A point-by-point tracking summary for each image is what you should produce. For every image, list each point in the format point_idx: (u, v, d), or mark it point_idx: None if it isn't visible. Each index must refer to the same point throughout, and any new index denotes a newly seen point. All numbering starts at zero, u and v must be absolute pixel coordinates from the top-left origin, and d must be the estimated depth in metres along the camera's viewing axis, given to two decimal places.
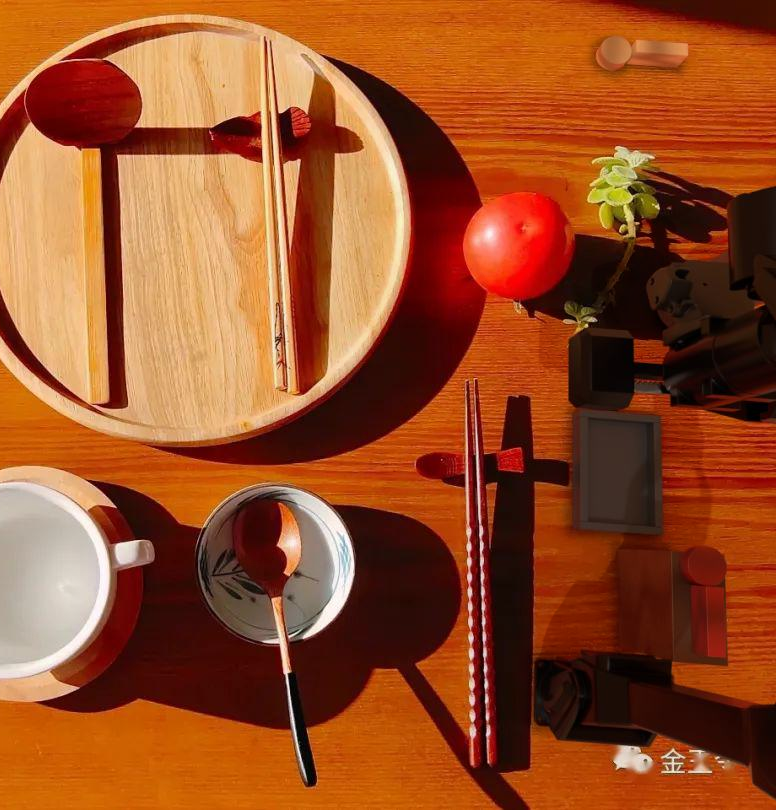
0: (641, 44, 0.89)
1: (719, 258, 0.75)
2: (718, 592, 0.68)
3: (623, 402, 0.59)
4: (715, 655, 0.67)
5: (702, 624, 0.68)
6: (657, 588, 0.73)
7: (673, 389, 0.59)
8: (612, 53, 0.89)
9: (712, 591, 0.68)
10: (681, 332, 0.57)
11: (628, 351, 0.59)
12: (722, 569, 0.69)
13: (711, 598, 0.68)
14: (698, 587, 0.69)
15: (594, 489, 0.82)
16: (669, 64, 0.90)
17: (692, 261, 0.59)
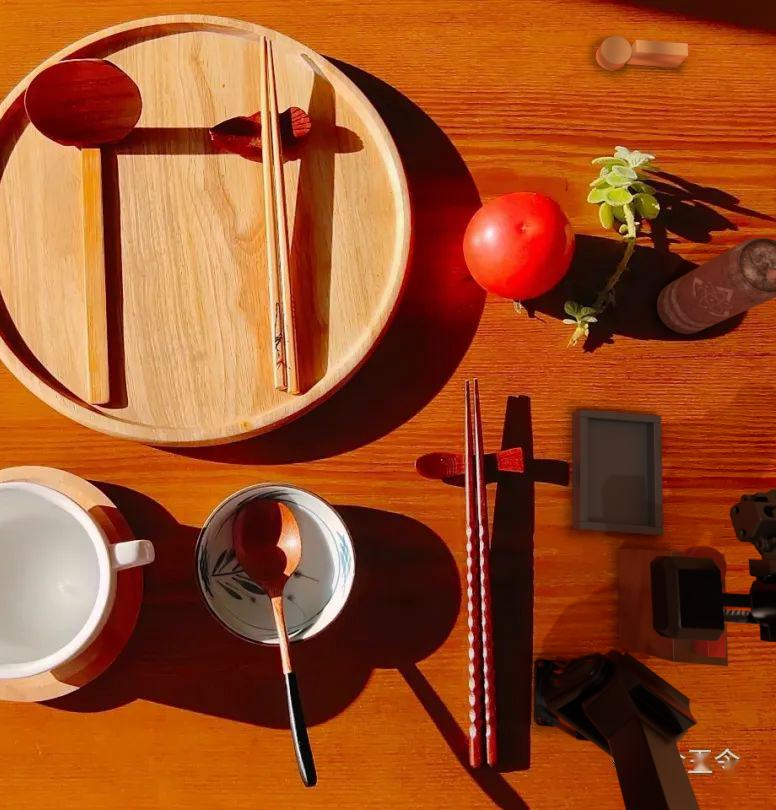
0: (641, 44, 0.89)
1: (719, 258, 0.75)
2: None
3: (712, 637, 0.58)
4: (715, 655, 0.67)
5: None
6: None
7: (763, 623, 0.57)
8: (612, 53, 0.89)
9: None
10: (772, 570, 0.56)
11: (716, 584, 0.58)
12: (722, 569, 0.69)
13: None
14: None
15: (594, 489, 0.82)
16: (669, 64, 0.90)
17: None
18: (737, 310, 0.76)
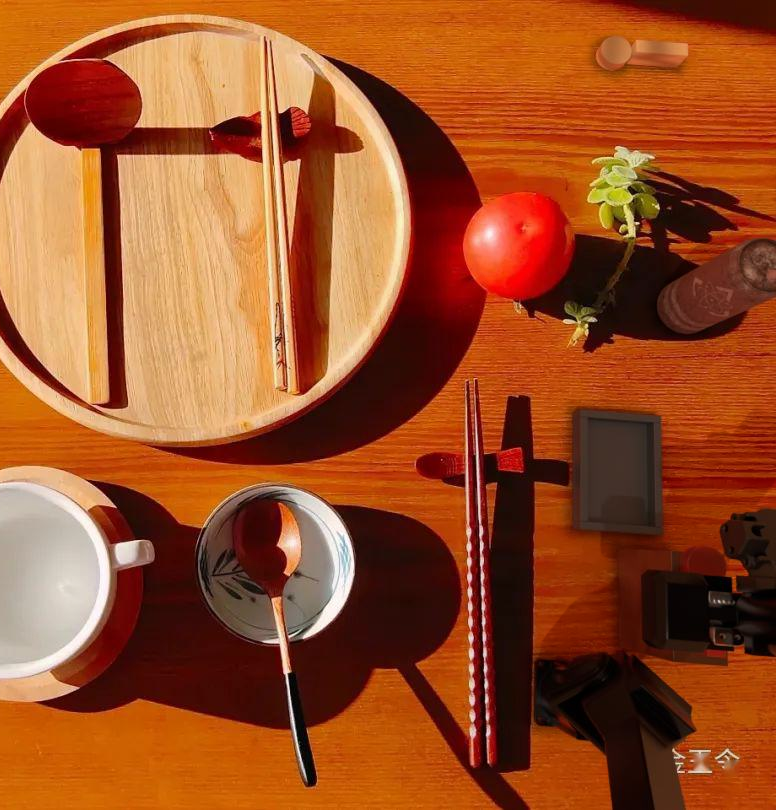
0: (641, 44, 0.89)
1: (719, 258, 0.75)
2: None
3: (698, 649, 0.60)
4: (715, 655, 0.67)
5: None
6: None
7: (748, 637, 0.60)
8: (612, 53, 0.89)
9: None
10: (757, 587, 0.59)
11: (703, 598, 0.60)
12: (722, 569, 0.69)
13: None
14: None
15: (594, 489, 0.82)
16: (669, 64, 0.90)
17: (766, 510, 0.60)
18: (737, 310, 0.76)
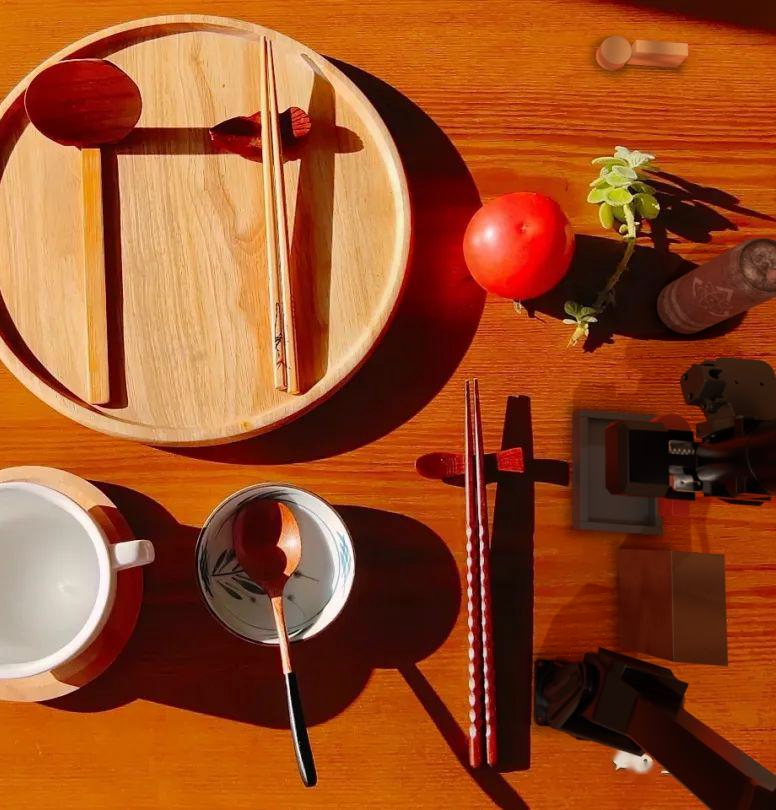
0: (641, 44, 0.89)
1: (719, 258, 0.75)
2: None
3: (658, 492, 0.62)
4: (679, 514, 0.69)
5: None
6: (657, 588, 0.73)
7: (706, 480, 0.62)
8: (612, 53, 0.89)
9: None
10: (714, 428, 0.61)
11: (663, 444, 0.62)
12: None
13: None
14: None
15: (594, 489, 0.82)
16: (669, 64, 0.90)
17: (724, 358, 0.62)
18: (737, 310, 0.76)
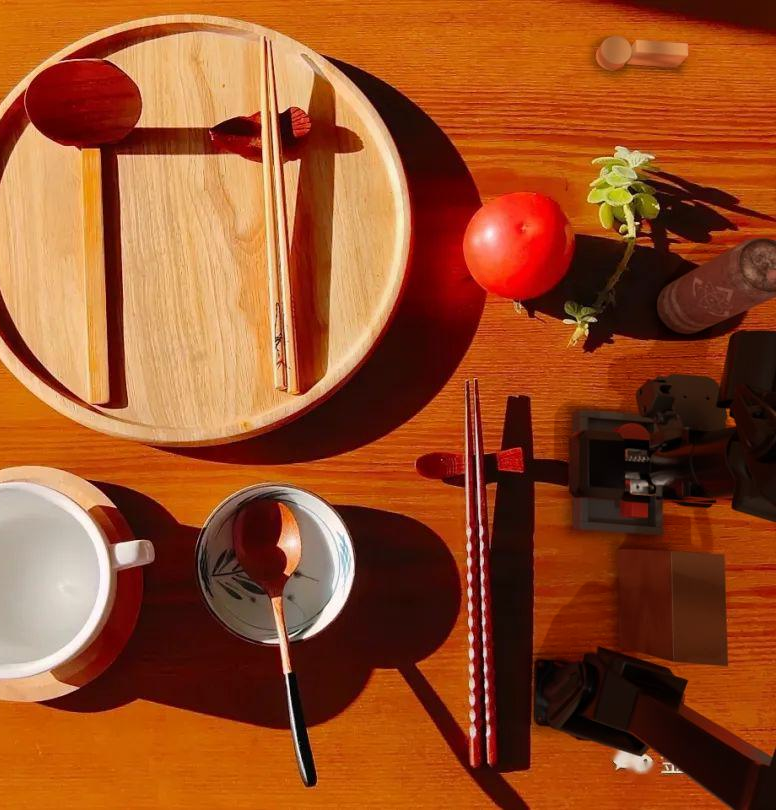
0: (641, 44, 0.89)
1: (719, 258, 0.75)
2: None
3: (616, 496, 0.69)
4: (638, 515, 0.76)
5: None
6: (657, 588, 0.73)
7: (658, 485, 0.69)
8: (612, 53, 0.89)
9: None
10: (665, 438, 0.68)
11: (620, 452, 0.69)
12: None
13: None
14: None
15: None
16: (669, 64, 0.90)
17: (674, 375, 0.69)
18: (737, 310, 0.76)
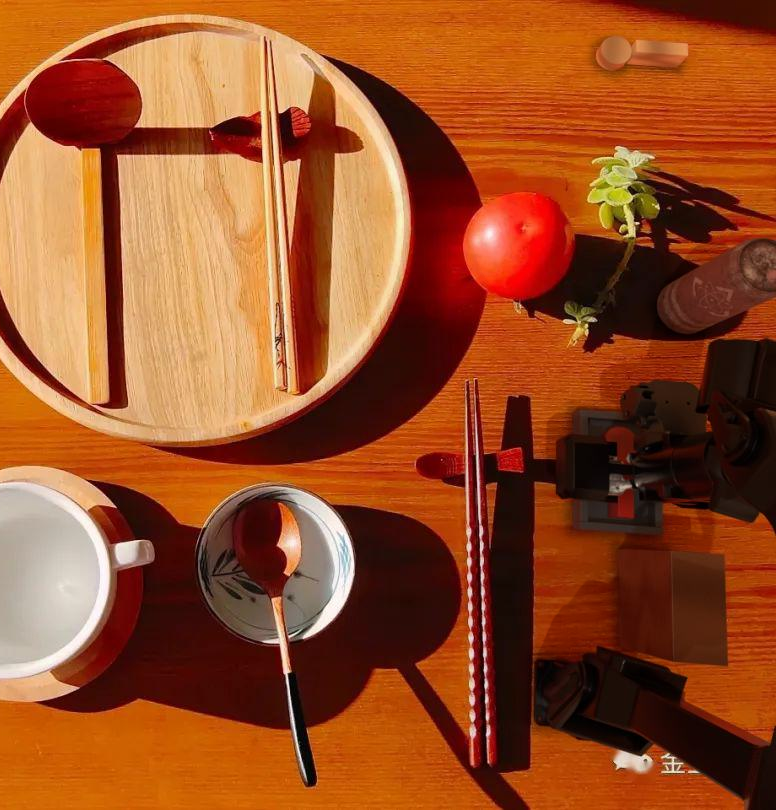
0: (641, 44, 0.89)
1: (719, 258, 0.75)
2: (628, 463, 0.80)
3: (600, 497, 0.72)
4: (624, 516, 0.79)
5: None
6: (657, 588, 0.73)
7: (641, 487, 0.72)
8: (612, 53, 0.89)
9: (623, 463, 0.80)
10: (647, 442, 0.70)
11: (604, 455, 0.72)
12: None
13: None
14: None
15: None
16: (669, 64, 0.90)
17: (657, 381, 0.72)
18: (737, 310, 0.76)
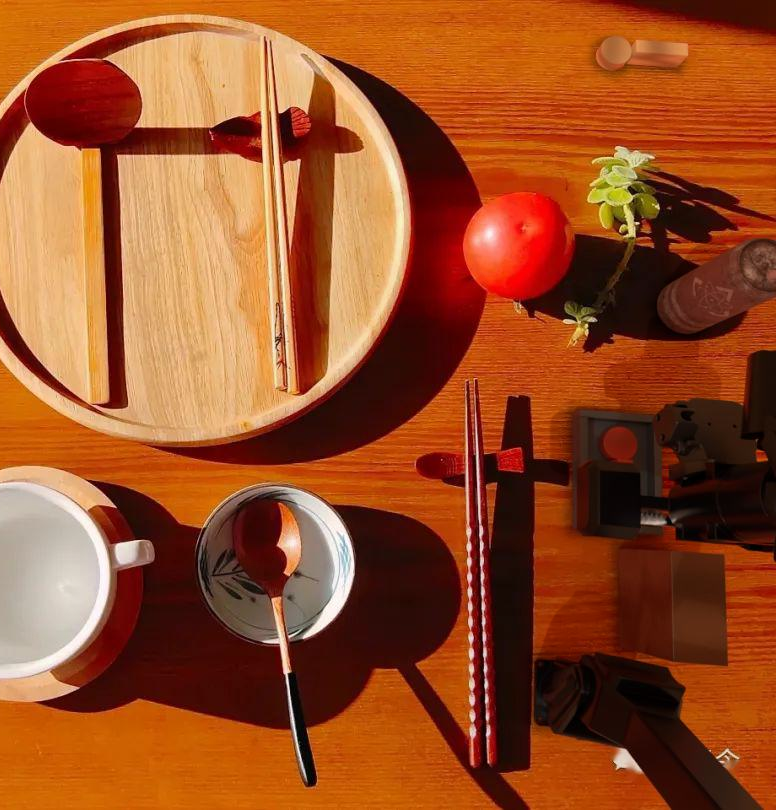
0: (641, 44, 0.89)
1: (719, 258, 0.75)
2: None
3: (630, 535, 0.61)
4: None
5: None
6: (657, 588, 0.73)
7: (678, 524, 0.61)
8: (612, 53, 0.89)
9: None
10: (686, 471, 0.60)
11: (635, 486, 0.61)
12: (633, 446, 0.81)
13: None
14: (612, 461, 0.81)
15: None
16: (669, 64, 0.90)
17: (697, 399, 0.61)
18: (737, 310, 0.76)
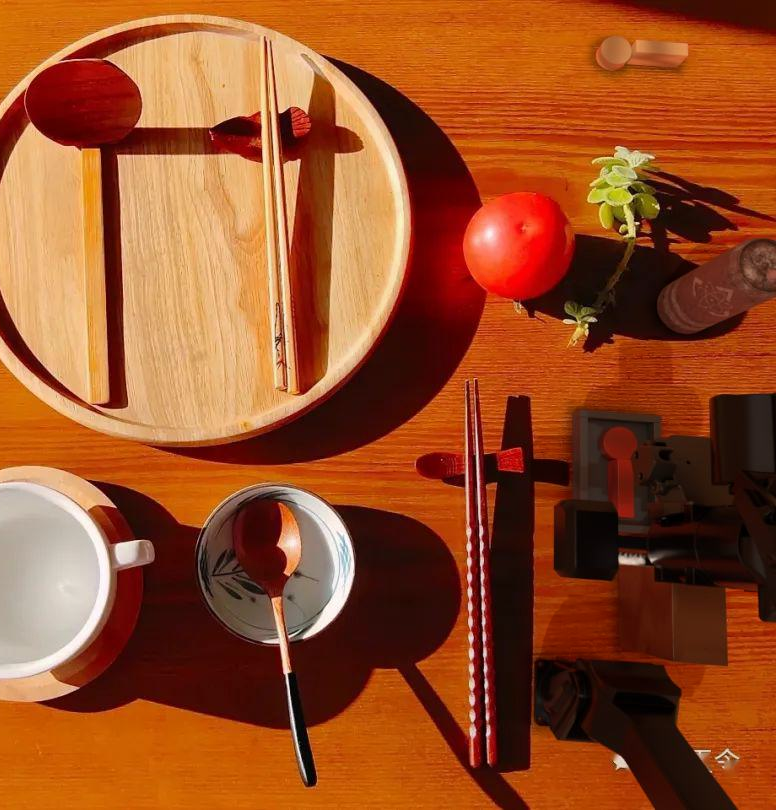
0: (641, 44, 0.89)
1: (719, 258, 0.75)
2: (628, 463, 0.80)
3: (607, 577, 0.59)
4: (624, 516, 0.79)
5: (615, 491, 0.80)
6: (657, 588, 0.73)
7: (657, 565, 0.59)
8: (612, 53, 0.89)
9: (623, 463, 0.80)
10: (665, 512, 0.58)
11: (612, 526, 0.59)
12: (633, 446, 0.81)
13: (622, 468, 0.80)
14: (612, 461, 0.81)
15: (594, 489, 0.82)
16: (669, 64, 0.90)
17: (676, 436, 0.60)
18: (737, 310, 0.76)
